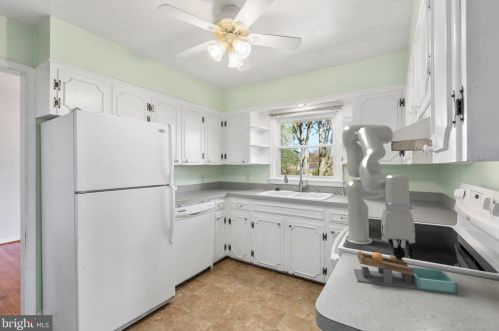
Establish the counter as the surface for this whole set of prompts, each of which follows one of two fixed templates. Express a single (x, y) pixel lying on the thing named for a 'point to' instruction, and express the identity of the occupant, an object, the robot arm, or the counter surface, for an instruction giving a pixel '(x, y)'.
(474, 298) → the counter surface
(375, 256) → the ball
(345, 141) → the robot arm
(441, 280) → the dish
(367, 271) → the lever stand
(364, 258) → the seesaw lever
